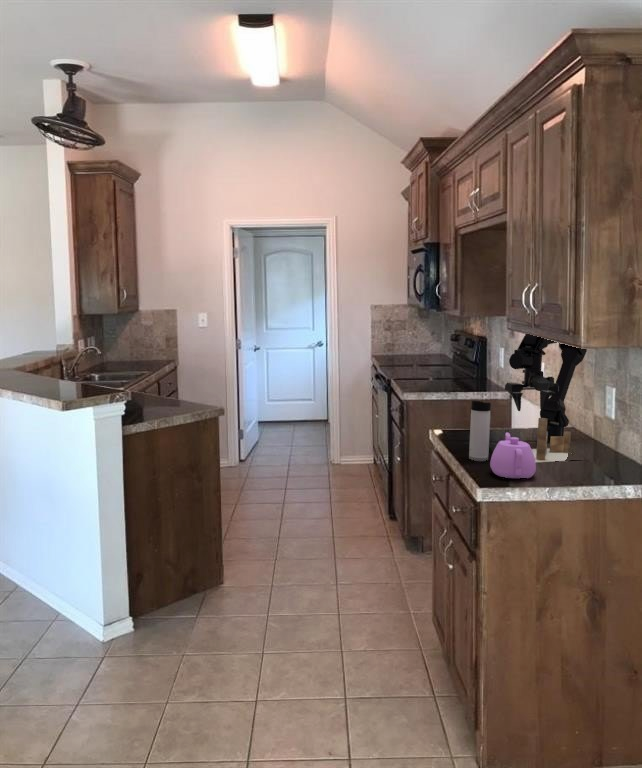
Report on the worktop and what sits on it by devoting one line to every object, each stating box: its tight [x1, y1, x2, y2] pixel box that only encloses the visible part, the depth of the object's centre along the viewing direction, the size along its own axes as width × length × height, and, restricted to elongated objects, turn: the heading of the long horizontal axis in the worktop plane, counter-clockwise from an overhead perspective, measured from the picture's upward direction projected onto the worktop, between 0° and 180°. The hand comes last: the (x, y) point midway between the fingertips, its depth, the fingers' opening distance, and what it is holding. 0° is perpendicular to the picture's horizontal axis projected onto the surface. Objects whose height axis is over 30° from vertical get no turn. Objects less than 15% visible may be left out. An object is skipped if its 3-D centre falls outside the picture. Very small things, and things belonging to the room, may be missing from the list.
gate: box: [536, 417, 548, 459], centre depth 243 cm, size 12×3×13 cm, turn 156°
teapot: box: [489, 432, 537, 479], centre depth 219 cm, size 20×13×12 cm, turn 177°
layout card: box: [531, 447, 568, 464], centre depth 247 cm, size 21×18×1 cm
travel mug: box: [468, 400, 492, 462], centre depth 238 cm, size 6×7×20 cm
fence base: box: [546, 430, 572, 453], centre depth 250 cm, size 9×3×8 cm, turn 104°
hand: (530, 410), depth 260 cm, fingers open, 9 cm apart
